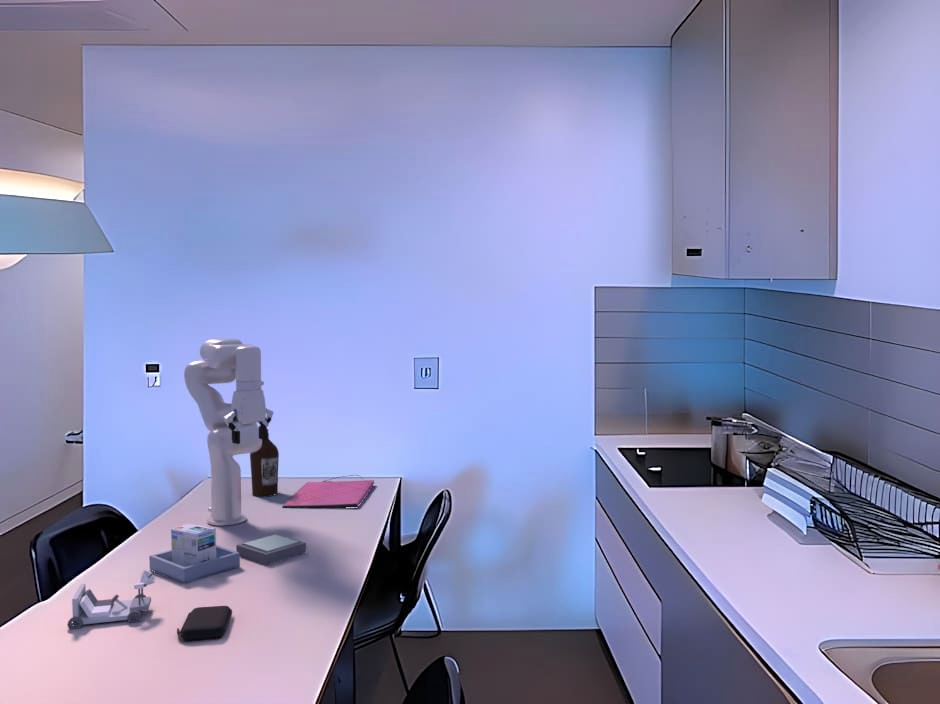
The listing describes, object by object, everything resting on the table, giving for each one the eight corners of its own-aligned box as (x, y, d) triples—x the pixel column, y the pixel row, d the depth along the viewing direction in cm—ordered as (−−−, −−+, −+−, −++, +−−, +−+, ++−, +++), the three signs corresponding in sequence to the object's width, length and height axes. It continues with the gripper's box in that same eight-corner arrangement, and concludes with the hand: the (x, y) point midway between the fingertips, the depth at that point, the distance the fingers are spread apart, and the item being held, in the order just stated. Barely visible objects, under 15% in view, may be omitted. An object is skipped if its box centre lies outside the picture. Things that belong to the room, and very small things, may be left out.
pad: (243, 548, 227) (243, 543, 227) (275, 539, 235) (275, 534, 235) (267, 556, 220) (267, 550, 220) (298, 546, 228) (298, 541, 228)
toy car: (157, 564, 190) (152, 580, 179) (158, 603, 191) (153, 622, 180) (76, 571, 185) (66, 588, 174) (77, 612, 186) (67, 631, 175)
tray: (149, 570, 214) (149, 555, 214) (205, 554, 227) (204, 541, 227) (184, 584, 203) (183, 568, 203) (239, 566, 216) (239, 552, 216)
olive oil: (245, 493, 300) (244, 429, 298) (270, 489, 307) (269, 426, 305) (259, 498, 292) (258, 432, 290) (284, 494, 299) (283, 429, 298)
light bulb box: (217, 566, 215) (216, 527, 215) (198, 573, 209) (197, 533, 209) (190, 559, 220) (189, 522, 220) (170, 567, 215) (169, 528, 214)
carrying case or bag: (186, 618, 182) (172, 645, 168) (185, 605, 182) (172, 631, 167) (233, 615, 184) (224, 642, 169) (233, 602, 184) (224, 628, 169)
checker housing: (236, 555, 227) (236, 544, 226) (276, 543, 238) (275, 533, 237) (266, 565, 218) (266, 554, 218) (305, 552, 229) (305, 542, 229)
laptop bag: (357, 499, 277) (281, 500, 279) (357, 510, 278) (282, 511, 279) (376, 474, 317) (310, 474, 318) (376, 483, 317) (310, 484, 319)
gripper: (264, 383, 250) (265, 436, 251) (217, 387, 236) (218, 443, 237) (279, 384, 245) (280, 438, 246) (231, 389, 232) (232, 446, 233)
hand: (249, 441), depth 242 cm, fingers open, 9 cm apart
